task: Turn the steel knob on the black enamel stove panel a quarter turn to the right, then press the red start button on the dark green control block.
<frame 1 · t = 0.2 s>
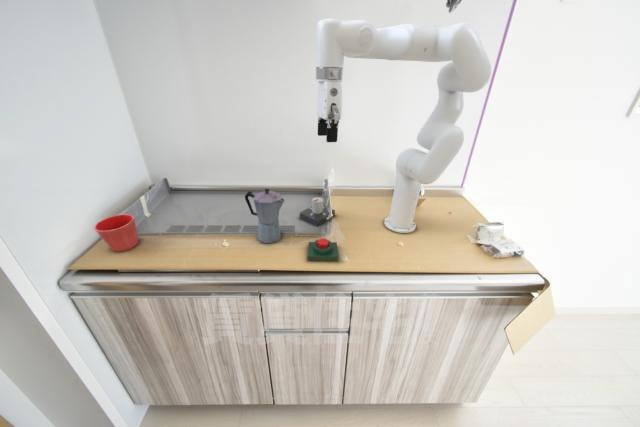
hand: (326, 138, 75), 37 cm above the countertop, tool pointing down, fingers open, 9 cm apart
stove panel: (317, 217, 105), on the countertop
button block: (322, 253, 83), on the countertop
moka pot: (268, 237, 92), on the countertop
flower pot: (125, 245, 86), on the countertop
stove knob: (317, 205, 102), point 6 cm above the countertop, hinge at 0.0°
start button: (322, 243, 81), point 4 cm above the countertop, slide at 0.1 cm
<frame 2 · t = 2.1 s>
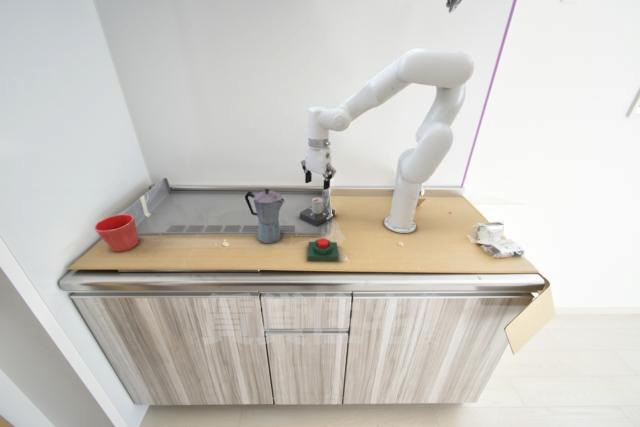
hand: (317, 185, 98), 15 cm above the countertop, tool pointing down, fingers open, 9 cm apart
nothing on the countertop moved.
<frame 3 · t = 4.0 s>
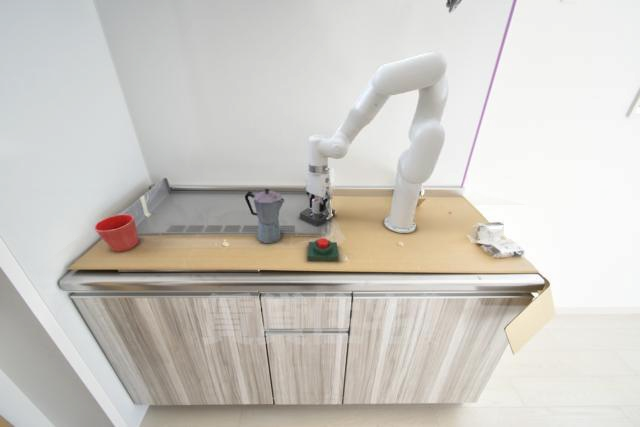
hand: (317, 208, 103), 4 cm above the countertop, tool pointing down, fingers closed on stove knob, 4 cm apart
stove knob: (317, 205, 102), point 6 cm above the countertop, hinge at 0.0°, touching gripper
everything else where it was.
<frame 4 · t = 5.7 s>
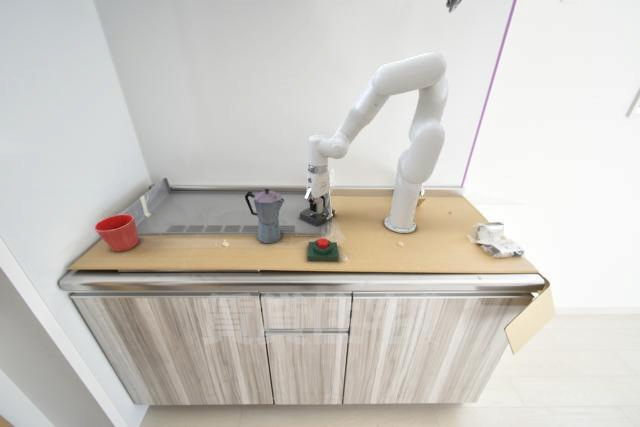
hand: (317, 208, 103), 4 cm above the countertop, tool pointing down, fingers closed on stove knob, 4 cm apart
stove knob: (317, 205, 102), point 6 cm above the countertop, hinge at -90.3°, touching gripper
everything else where it was.
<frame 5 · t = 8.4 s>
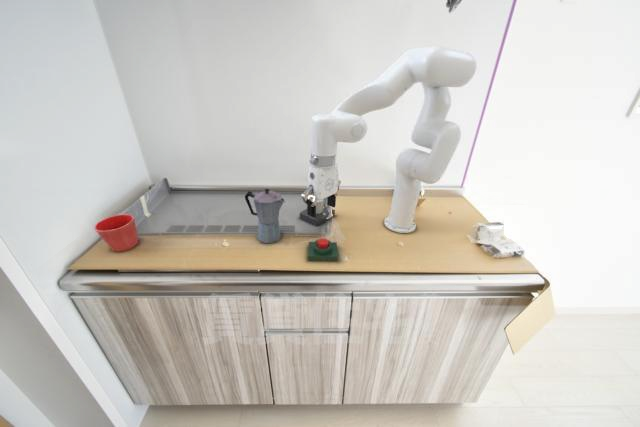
hand: (321, 210, 79), 15 cm above the countertop, tool pointing down, fingers open, 9 cm apart
stove knob: (317, 205, 102), point 6 cm above the countertop, hinge at -89.5°
everything else where it was.
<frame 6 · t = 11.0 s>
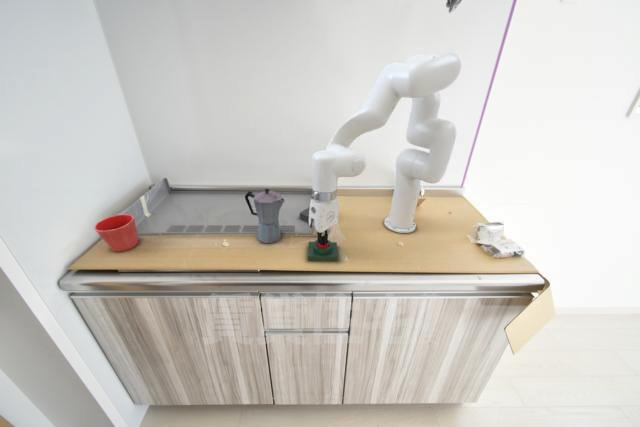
hand: (322, 243, 81), 5 cm above the countertop, tool pointing down, fingers closed
start button: (322, 245, 81), point 4 cm above the countertop, slide at -0.6 cm, touching gripper
everything else where it was.
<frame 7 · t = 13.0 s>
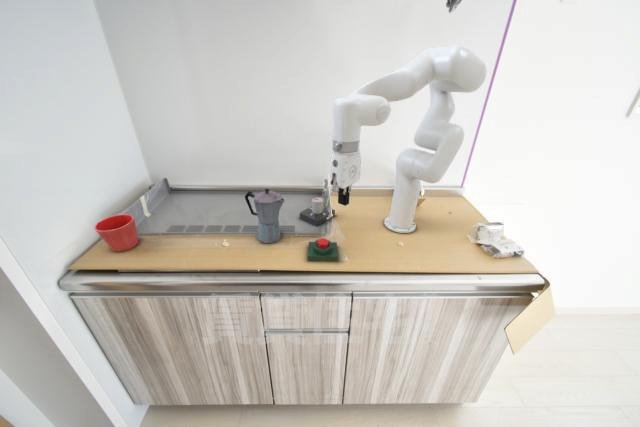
hand: (343, 203, 77), 18 cm above the countertop, tool pointing down, fingers closed
start button: (322, 243, 81), point 4 cm above the countertop, slide at 0.1 cm
everything else where it was.
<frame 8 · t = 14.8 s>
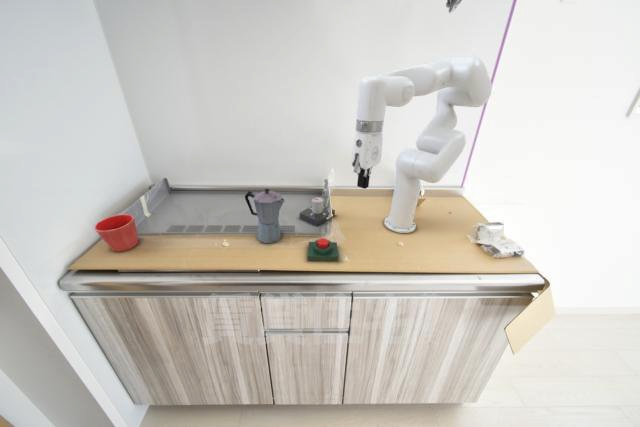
hand: (362, 186, 77), 23 cm above the countertop, tool pointing down, fingers closed
nothing on the countertop moved.
at the end: stove knob at -90° (first picture: +0°); start button pushed in 1.1 cm at the most during the clip, back to where it started at the end; start button slide at 0.1 cm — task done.
